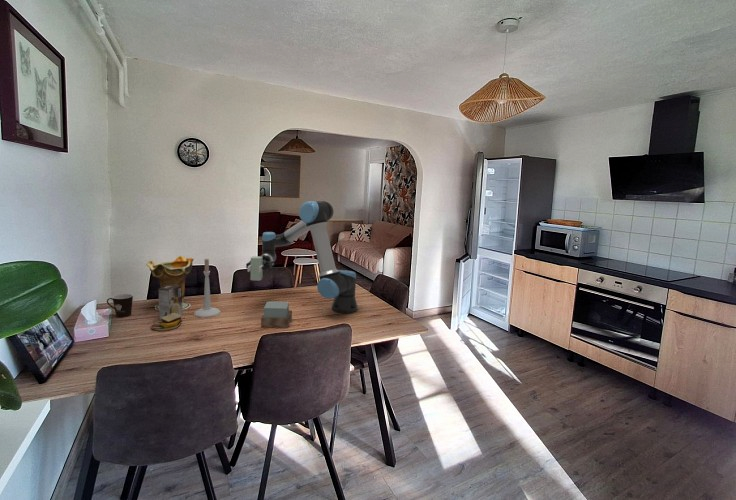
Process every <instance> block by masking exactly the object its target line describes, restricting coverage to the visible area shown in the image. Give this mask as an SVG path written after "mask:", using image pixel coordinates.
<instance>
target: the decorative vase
mask: <svg viewBox="0 0 736 500" xmlns="http://www.w3.org/2000/svg"><path fill="white" fill-rule="evenodd" d="M193 262H194V258H192V257H187V258H185V256H183V255H180V256H177V258H176V259H175V260H172V261H165V262H164V261H163V262H158V263H157V262H156V263H155V261H154V260H149V261H147V263H146V266H147V267H148V268H149V270H150V273H151V275H152V277H154V278H158V280H159V281H158V282H159V284H160V288H162V287H165V286H168V285H180V286H182V310H186V309H188V308H190V307H191V303H189V302H187V301H184V298H185V288H186V287H185V285H186V277H187V276H188V275H189V274H190V272H191V271H192V268H193ZM154 309H155V310H156V311H159V304H156V305H154Z"/></svg>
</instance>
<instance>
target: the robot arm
mask: <svg viewBox="0 0 736 500" xmlns="http://www.w3.org/2000/svg"><path fill="white" fill-rule="evenodd" d="M299 208H300V209H299V212H298V214H299V218H300V221H299V222H298V223H296V224H294V225H293V226H291V227H290V228H287V230H285V231H284V232H282V233H280V234H276V233H275V232H273V231H265V232H263V233H262V236H261V239H262V243H261V245H262V246H261V247H262V250H261V251H262V252H261V253H262V254H261V255H260V256H259V257H263V265H261V266H260V267H259V272H261V271H262V270H263V271H264V270H270V269H272V267H274V266H275V262H276V260H277V254H276V248H278V247H288V246H290V245H292V244H293V241H296V240H297V239H298V238H300V237H301V236H303V235H305V234H306V233H309V231H310V234H311V237H312V241H313V245H314V250H315V254H316V259H317V262H318V263H317V264H318V266H319V267H318V268H319V270H320V271H319V272H320V273H319V275H318V277H319V280H318V283H317V285H316V287H317V291H318V293H319V295H321V296H322V297H323V298H324V299H328V300H329V299H333V301H332V303H331V310H332V311H333V312H336V313H341V314H351V313H350V312H352V313H355V312H357V311H356V310H358V304H357V299H356V286H357V285H356V283H357V274H356V272H355V271H352V270H346V269H337V267H336V266H337V265H336V264H335V263H336V262H335V260H334V255H333V251H332V247H331V243H330V239H329V234H328V231H327V225H328V222H329V221H331V220H332V218H333V217H334V214H335V213H334V211H335V210H334V207H333V206H332V204H331V203H330V202H328V201H325V200H310V201H309V200H308V201H305V202H304V203H303V204H302V205H301V207H299ZM245 265H246V266H245V268H246V270H247V272H248V273H249V272H250V273H251V260H249V262H247V263H246V264H245ZM354 311H355V312H354Z"/></svg>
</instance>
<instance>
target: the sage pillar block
mask: <svg viewBox="0 0 736 500" xmlns="http://www.w3.org/2000/svg"><path fill="white" fill-rule="evenodd" d="M250 261H251V271H250V281H259V282H260V281H261V280H263V273H264V272H263V271H264V270H262V271H261V272H259V267H260V266H261V265H263V257H260V256H258V255H257V256H256V255H253V256H251V257H250Z"/></svg>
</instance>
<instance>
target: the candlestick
mask: <svg viewBox="0 0 736 500" xmlns="http://www.w3.org/2000/svg"><path fill="white" fill-rule="evenodd" d="M202 272H203V274H204V277H205V278H204V291H203V293H204V294H203V307H202V308H199V309H198V308H197V310H195V311H194V312H193V316H195V317H197V318H213V317H216V316H218V315H220V314H221V310H220V309H219V308H217V307H212V304H211V290H210V289H211V287H210V275H211V274H210V273H211V271H210V260H209V258H205V259H204V271H202Z"/></svg>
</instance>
